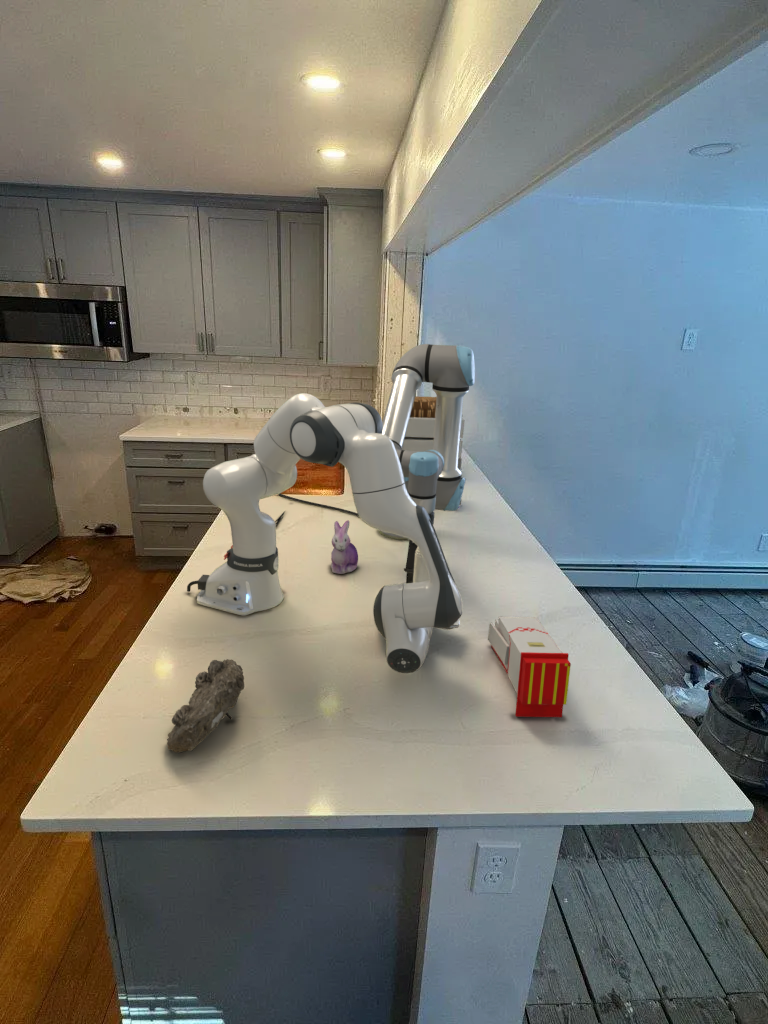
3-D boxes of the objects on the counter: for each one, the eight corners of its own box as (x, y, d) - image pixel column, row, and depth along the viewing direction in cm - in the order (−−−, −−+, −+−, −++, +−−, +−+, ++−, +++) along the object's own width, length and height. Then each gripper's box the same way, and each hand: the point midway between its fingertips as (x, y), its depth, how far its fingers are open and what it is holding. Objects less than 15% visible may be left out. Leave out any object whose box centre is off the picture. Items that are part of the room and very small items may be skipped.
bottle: (408, 623, 144) (414, 536, 136) (412, 614, 148) (418, 530, 140) (425, 626, 142) (432, 539, 134) (429, 617, 146) (436, 532, 138)
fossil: (192, 660, 117) (244, 628, 112) (224, 691, 120) (276, 661, 115) (142, 746, 98) (202, 712, 93) (182, 779, 101) (242, 748, 96)
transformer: (382, 463, 289) (386, 382, 275) (445, 464, 293) (451, 384, 279) (390, 482, 257) (394, 392, 243) (460, 483, 261) (468, 394, 247)
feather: (291, 505, 226) (294, 501, 225) (275, 529, 199) (277, 524, 199) (288, 503, 226) (290, 499, 225) (270, 526, 199) (273, 522, 199)
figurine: (336, 577, 165) (336, 529, 160) (323, 563, 174) (323, 517, 169) (365, 572, 170) (367, 525, 164) (351, 558, 178) (352, 514, 173)
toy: (534, 602, 136) (579, 659, 107) (529, 653, 139) (572, 723, 110) (484, 601, 136) (516, 658, 107) (480, 652, 139) (510, 722, 109)
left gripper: (460, 617, 128) (463, 589, 141) (371, 605, 131) (382, 579, 144) (457, 641, 130) (461, 611, 143) (370, 629, 133) (381, 601, 146)
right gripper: (416, 495, 164) (412, 562, 171) (395, 523, 142) (391, 599, 149) (442, 498, 162) (436, 566, 170) (425, 527, 140) (419, 604, 147)
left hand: (421, 595), depth 144 cm, fingers closed on bottle, 4 cm apart
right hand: (415, 582), depth 159 cm, fingers open, 12 cm apart
